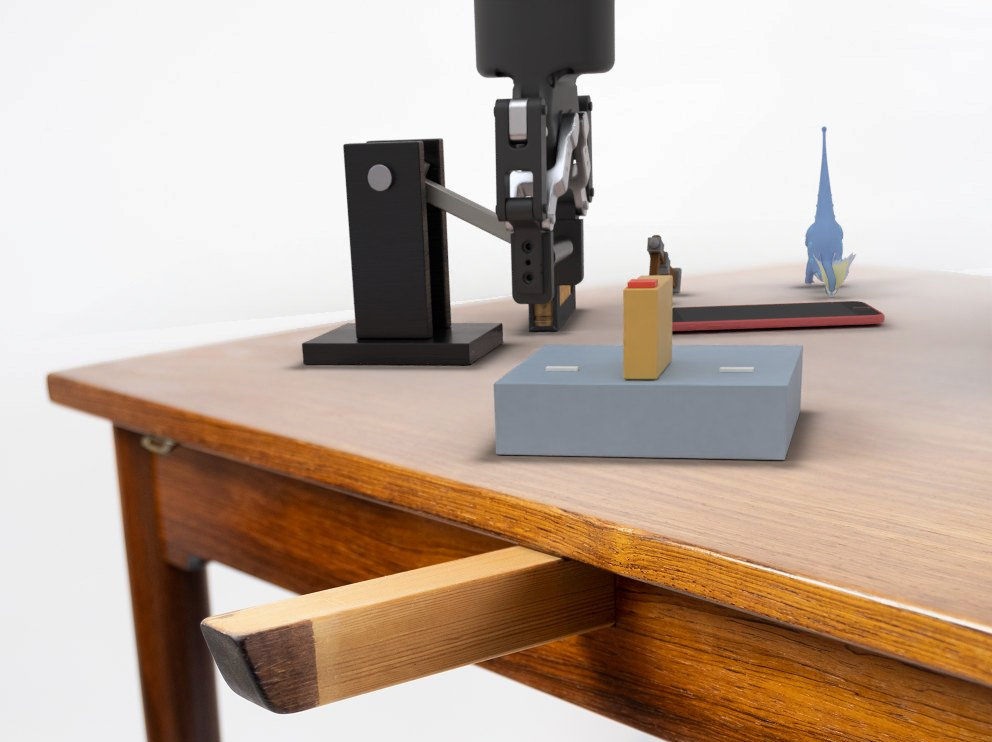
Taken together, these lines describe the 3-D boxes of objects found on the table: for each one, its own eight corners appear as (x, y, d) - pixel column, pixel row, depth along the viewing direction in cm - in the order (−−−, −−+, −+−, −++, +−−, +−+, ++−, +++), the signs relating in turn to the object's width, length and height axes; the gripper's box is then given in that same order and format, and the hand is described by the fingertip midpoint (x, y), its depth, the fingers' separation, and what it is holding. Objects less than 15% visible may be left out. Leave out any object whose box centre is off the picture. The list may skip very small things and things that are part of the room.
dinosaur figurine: (801, 338, 113) (813, 281, 103) (799, 153, 115) (811, 80, 106) (840, 337, 112) (856, 280, 103) (838, 151, 115) (854, 78, 105)
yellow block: (640, 360, 66) (640, 269, 64) (672, 360, 66) (673, 269, 64) (623, 379, 62) (622, 282, 60) (657, 379, 61) (657, 282, 60)
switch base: (800, 411, 70) (803, 341, 68) (784, 460, 61) (788, 381, 60) (545, 408, 73) (544, 341, 71) (495, 454, 64) (493, 379, 62)
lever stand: (503, 342, 92) (496, 135, 88) (469, 365, 85) (460, 140, 80) (348, 342, 95) (334, 141, 90) (303, 364, 87) (285, 146, 83)
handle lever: (563, 272, 88) (580, 234, 87) (545, 283, 84) (563, 242, 83) (380, 181, 89) (394, 141, 88) (352, 187, 84) (367, 145, 83)
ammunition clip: (549, 308, 106) (545, 124, 101) (576, 307, 105) (573, 123, 101) (528, 331, 96) (523, 129, 91) (557, 330, 96) (553, 127, 91)
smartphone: (888, 315, 92) (658, 323, 92) (888, 324, 92) (658, 332, 92) (863, 300, 98) (647, 307, 99) (862, 309, 99) (647, 316, 99)
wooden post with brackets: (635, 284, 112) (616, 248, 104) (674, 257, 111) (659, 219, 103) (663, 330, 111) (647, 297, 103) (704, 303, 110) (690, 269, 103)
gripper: (588, -35, 73) (591, 310, 79) (635, -18, 86) (634, 278, 92) (438, -26, 75) (453, 311, 81) (506, -11, 87) (514, 279, 94)
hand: (549, 293), depth 86 cm, fingers open, 8 cm apart
